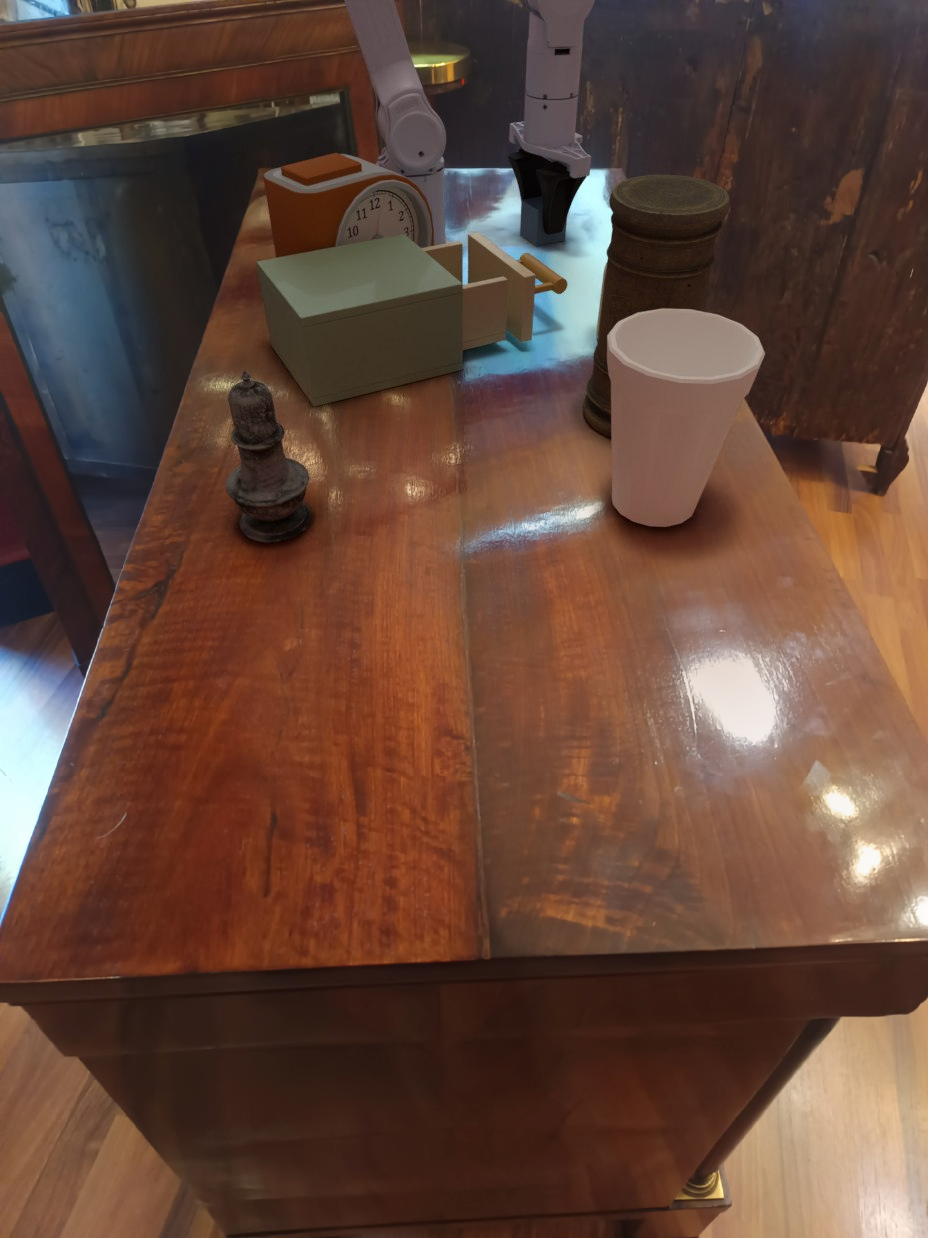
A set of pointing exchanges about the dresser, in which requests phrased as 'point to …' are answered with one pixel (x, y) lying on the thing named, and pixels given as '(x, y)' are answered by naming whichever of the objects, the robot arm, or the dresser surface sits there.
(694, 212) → the container
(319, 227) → the alarm clock
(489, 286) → the drawer
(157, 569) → the dresser surface
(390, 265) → the cabinet
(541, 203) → the block
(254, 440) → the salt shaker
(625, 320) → the cup
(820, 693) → the dresser surface
